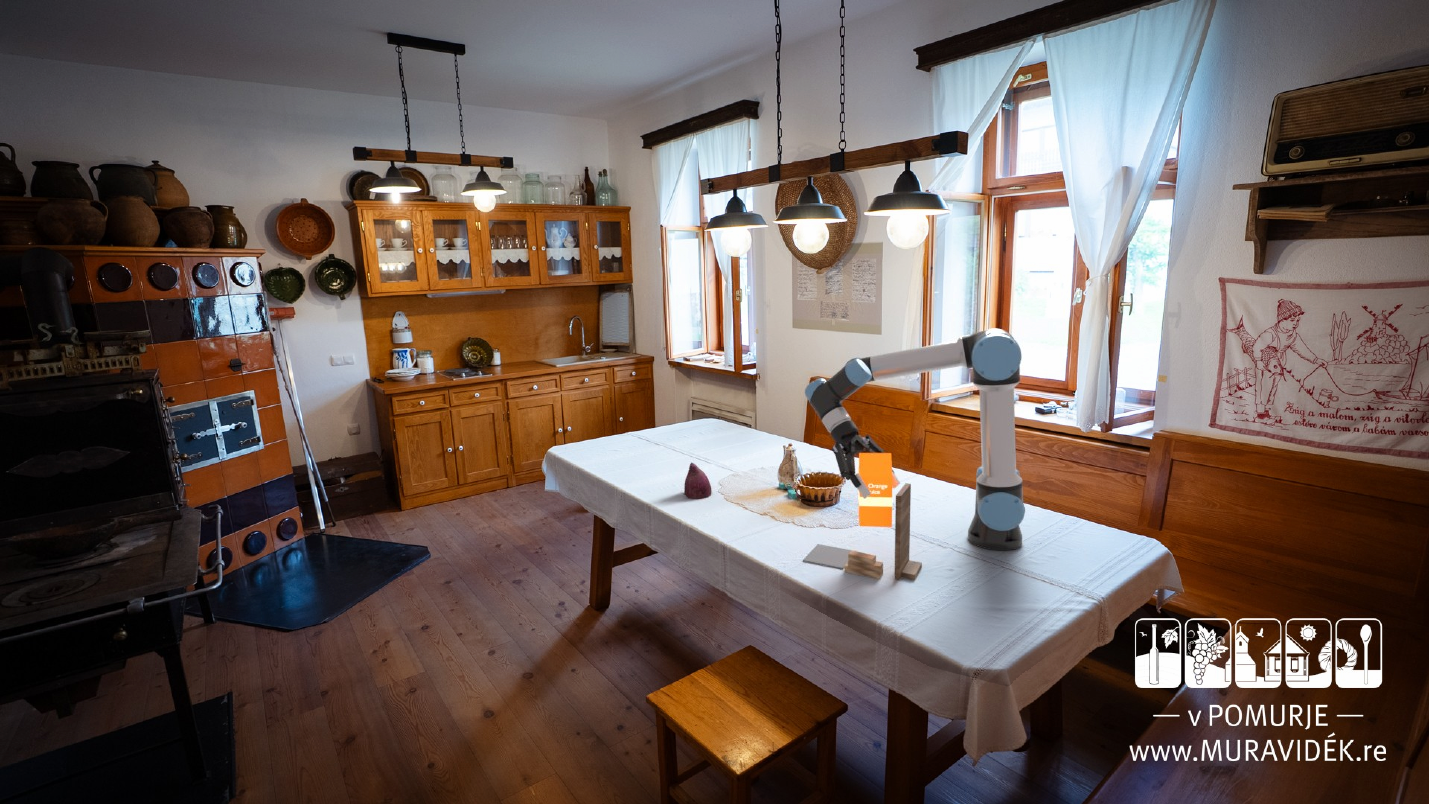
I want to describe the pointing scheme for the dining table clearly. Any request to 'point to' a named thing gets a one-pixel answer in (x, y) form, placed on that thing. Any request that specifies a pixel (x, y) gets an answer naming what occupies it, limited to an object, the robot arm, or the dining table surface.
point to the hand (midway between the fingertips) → (882, 491)
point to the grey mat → (828, 556)
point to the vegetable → (696, 483)
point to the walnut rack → (903, 566)
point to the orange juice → (876, 490)
